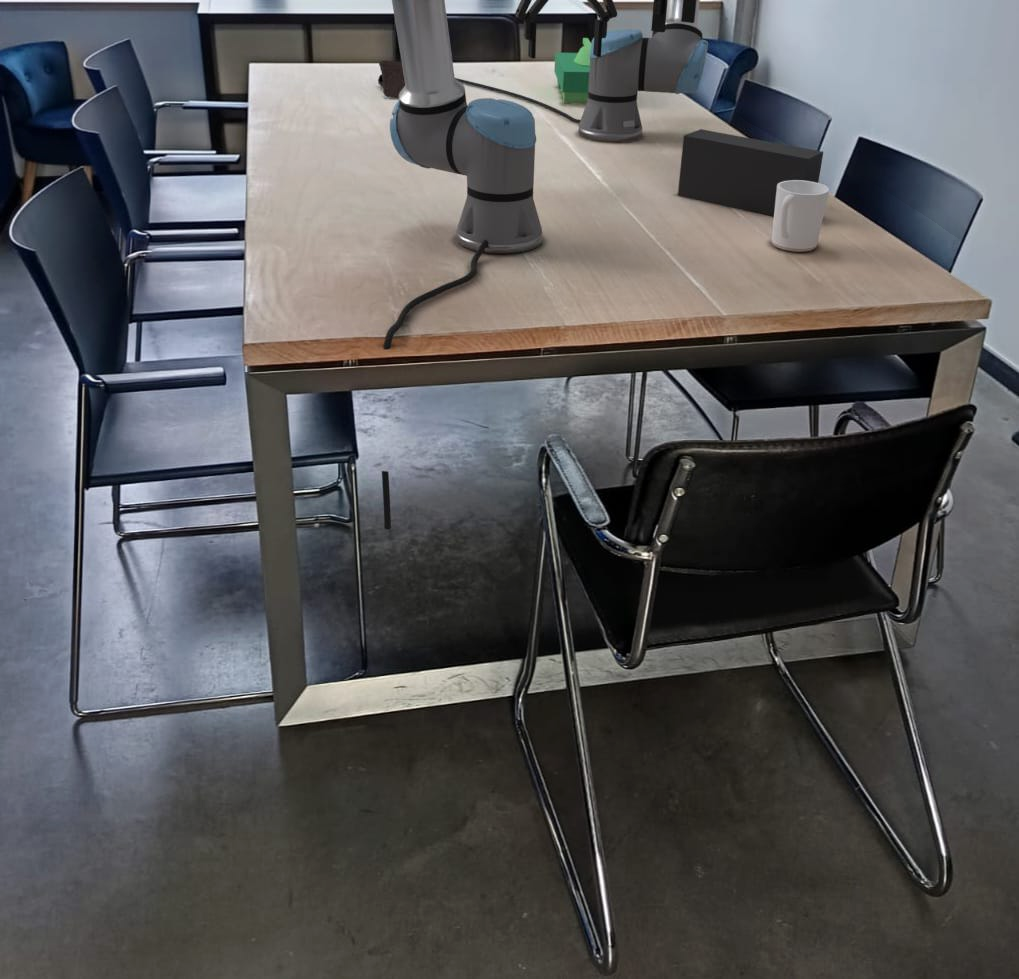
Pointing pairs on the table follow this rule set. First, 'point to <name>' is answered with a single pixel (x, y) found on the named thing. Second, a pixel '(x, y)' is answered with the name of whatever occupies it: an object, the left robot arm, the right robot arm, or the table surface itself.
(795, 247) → the mug
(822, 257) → the table surface
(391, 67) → the axe head
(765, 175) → the box
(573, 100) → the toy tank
